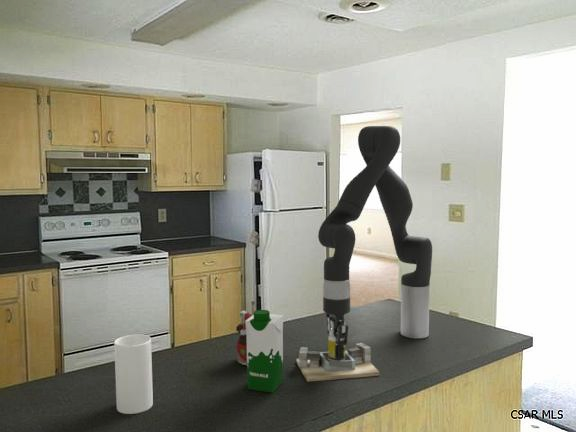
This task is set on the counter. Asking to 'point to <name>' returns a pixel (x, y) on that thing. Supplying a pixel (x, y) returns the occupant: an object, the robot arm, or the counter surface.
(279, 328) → the milk carton
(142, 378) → the cup
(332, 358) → the supplement bottle
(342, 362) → the shaft bench
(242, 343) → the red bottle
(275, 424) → the counter surface
